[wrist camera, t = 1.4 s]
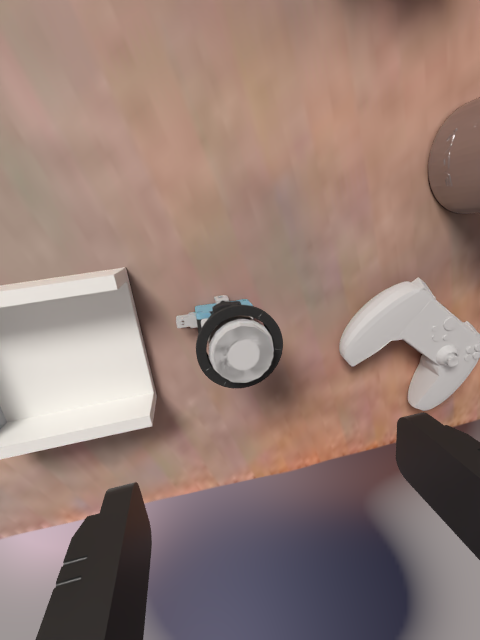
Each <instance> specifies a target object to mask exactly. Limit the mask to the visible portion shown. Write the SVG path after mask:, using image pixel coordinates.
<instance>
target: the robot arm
mask: <svg viewBox="0 0 480 640" xmlns="http://www.w3.org/2000/svg"><path fill="white" fill-rule="evenodd" d="M428 174H429V181H430V186H431V189H432V191H433V193H434V196H435V197H436V199H437V200H438V201H439V203H440V204H441V205H442V206H444V207H445V208H446V209H447V210H450V211H452V212H455V213H460V214H471V213H480V97H479V98H476V99H474V100H472V101H470V102H468V103H466V104H464V105H462V106H461V107H459V108H458V109H456V110H455V111H454V112H453V113H452V114H451V115H450V116H449V117H448V118H447V119H446V120H445V122H444V123H443V124H442V126H441V127H440V129H439V131H438V133H437V135H436V137H435V139H434V141H433V144H432V148H431V151H430V156H429V163H428ZM396 461H397V465H398V467H399V470H400V472H401V473H402V475H403V476H404V478H405V479H406V480H407V481H408V482H409V483H410V485H411V486H412V487H413V488H414V489H415V490H416V491H417V492H418V493H419V494H420V496H421V497H422V498H423V499H424V500H425V501H426V502H427V503H428V504H429V505H430V506H431V508H432V509H433V510H434V511H435V512H436V513H437V514H438V515H439V516H440V517H441V518H442V520H443V521H444V522H445V523H446V524H447V525H448V526H449V527H450V528H451V529H452V530H453V531H454V533H455V534H456V535H457V536H458V537H459V538H460V539H461V540H462V541H463V542H464V544H465V545H466V546H467V547H468V548H469V549H470V550H471V551H472V552H473V553H474V554H475V556H476V557H477V558H478V559H479V560H480V442H478V441H477V440H475V439H474V438H472V437H471V436H469V435H468V434H466V433H464V432H461V431H459V430H457V429H455V428H452V427H450V426H448V425H445V426H444V425H443V424H441V423H440V422H438V421H437V420H436V419H434V418H433V417H432V416H430V415H429V414H427V413H418V414H414V415H410V416H406V417H402V418H400V419H399V420H398V422H397V441H396ZM151 545H152V541H151V528H150V522H149V519H148V515H147V512H146V508H145V505H144V502H143V498H142V495H141V491H140V488H139V485H138V483H136V482H135V483H131V484H127V485H123V486H119V487H115V488H111V489H108V490H107V491H106V494H105V497H104V500H103V504H102V507H101V511H100V513H99V514H95V515H92V516H88V517H87V518H86V519H85V521H84V522H83V523H82V525H81V526H80V528H79V529H78V530H77V532H76V533H75V535H74V536H73V537H72V539H71V542H70V545H69V547H68V550H67V554H66V556H65V559H64V562H63V563H64V565H63V567H61V570H60V573H59V576H58V578H57V581H56V588H54V590H53V592H52V595H51V598H50V601H49V604H48V606H47V610H46V612H45V615H44V618H43V621H42V623H41V626H40V629H39V632H38V635H37V637H36V640H143V635H144V624H145V613H146V602H147V591H148V580H149V569H150V558H151Z"/></svg>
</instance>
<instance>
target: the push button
mask: <svg viewBox="0 0 480 640" xmlns="http://www.w3.org/2000/svg"><path fill="white" fill-rule="evenodd" d="M219 297H222V298H219ZM214 299H215V300H216V303H215V304H207V305H199V306H195V312H190V313H189V314H188V315H181V316H177V317H176V323H177V328H183V327H191V328H195V327H198V333H199V335H198V338H197V343H196V354H197V360H198V363H199V365H200V367H201V369H202V371H203V372H204V374H205V375H206V376H207V377H208V378H209V379H210V380H212V381H213V382H215V383H217V384H219V385H221V386H224V387H228V388H245V387H249V386H252V385H255V384H257V383H259V382H261V381H262V380H264V379H265V378H266V377H268V376H269V375H270V374H271V373H272V372H273V370H274V369H275V368H276V366H277V364H278V362H279V360H280V358H281V354H282V349H283V339H282V334H281V331H280V329H279V327H278V325H277V323H276V322H275V321H274V319H273V318H272V317H271V316H270V315H268V314H267V313H266V312H265V311H263V310H261V309H259V308H257V307H254V306H253V305H252V304H251V303H250V302H249V301H248V300H247V299H242V300H237V301H230V302H229V298H228V297H227V295H222V296H215V297H214ZM254 318H256V319H258V320H260V321H261V322H263V324H264V326H265V327H264V326H263V325H261V324H259V323H258V322H256V321H254ZM181 321H184V322H181ZM182 324H184V325H182ZM207 341H209V356H208V354H207V352H206V346H207Z"/></svg>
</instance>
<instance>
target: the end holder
mask: <svg viewBox="0 0 480 640" xmlns="http://www.w3.org/2000/svg"><path fill="white" fill-rule="evenodd" d="M156 399H157V395H156V390H155V386H154V382H153V378H152V374H151V370H150V366H149V361H148V357H147V353H146V349H145V345H144V341H143V336H142V332H141V328H140V324H139V320H138V316H137V312H136V307H135V303H134V299H133V295H132V291H131V287H130V282H129V278H128V274H127V270H126V267H125V268H118V269H111V270H104V271H97V272H90V273H83V274H77V275H70V276H63V277H56V278H49V279H42V280H35V281H28V282H21V283H14V284H7V285H0V459H4V458H9V457H13V456H18V455H23V454H27V453H32V452H36V451H41V450H45V449H50V448H55V447H59V446H64V445H68V444H73V443H78V442H82V441H87V440H91V439H96V438H100V437H105V436H110V435H114V434H119V433H123V432H128V431H133V430H137V429H142V428H146V427H151V426H152V425H153V419H154V412H155V406H156Z"/></svg>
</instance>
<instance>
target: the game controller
mask: <svg viewBox="0 0 480 640" xmlns="http://www.w3.org/2000/svg"><path fill="white" fill-rule="evenodd" d="M435 298H436V297H435V296H434V295H432V292H431V291H430V289H429V288H428V286H427V285H426V283H425V282H423V281H422V280H421V279H420V278H416V279H415V280H414V281H412V282H411V283H410V282H408V281H405V282H402V283H399V284H396V285H394V286H392V287H390V288H388V289H386V290H384V291H382V292H381V293H379V294H378V295H376V296H375V297H374V298H372V299H371V300H370V301H368V302H367V303H366V304H365V305H364V306H363V307H362V308H361V309H360V310H359V311H358V312H357V313H356V314H355V315H354V316H353V318H352V319H351V320H350V322H349V323H348V325H347V326H346V328H345V330H344V332H343V334H342V337H341V340H340V344H339V351H340V354H341V356H342V357H343V358H344V359H345V360H346V361H347V363H348V364H349V365H351V366H352V367H353V366H355V365H357V364H358V363H360V362H362V361H363V360H365V359H367V358H368V357H370V356H372V355H373V354H374V353H376V352H377V351H379V350H380V349H381V348H383V347H384V346H385V345H387V344H388V343H389V342H390V341H394V340H404V341H405V342H406V343H408V344H409V345H410V346H412V347H413V348H414V349H416V350H417V351H418V352H420V353H421V354H422V356H421V360H420V363H419V365H418V367H417V369H416V371H415V373H414V375H413V378H412V380H411V383H410V386H409V391H408V402H409V404H410V405H412V406H413V407H414V408H417V409H420V410H423V411H425V410H429V409H432V408H434V407H436V406H437V405H439V404H441V403H442V402H443V401H444V400H446V399H447V398H448V397H449V396H450V395H451V394H452V393H453V392H455V391H456V390H457V388H458V387H459V386H460V385H461V384H462V383H463V382H464V380H465V379H466V378H467V377H468V375H469V374H470V373H471V371H472V370H473V368H474V367H475V365H476V363H477V361H478V360H479V358H480V334H479V333H478V332H477V331H476V329H475V328H474V327H473V326H472V325H471V324H470V323H469V322H468V321H466V322H464V323H463V322H461V321H460V320H459V319H458V318H457V317H456V316H454V315H453V314H452V313H451V312H450V311H448V310H447V309H446V308H445V307H444V306H443V305H441V304H440V303H439V302H438V301H437V300H436V299H435Z"/></svg>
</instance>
